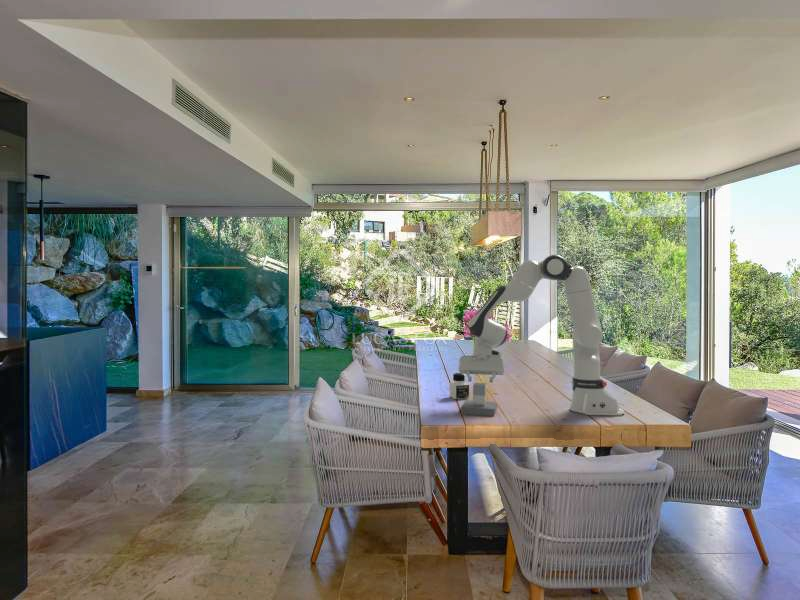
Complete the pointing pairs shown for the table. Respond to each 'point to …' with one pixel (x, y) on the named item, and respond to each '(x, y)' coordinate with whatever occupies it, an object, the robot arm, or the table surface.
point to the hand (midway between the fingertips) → (480, 381)
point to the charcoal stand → (479, 408)
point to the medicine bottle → (459, 387)
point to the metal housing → (479, 394)
